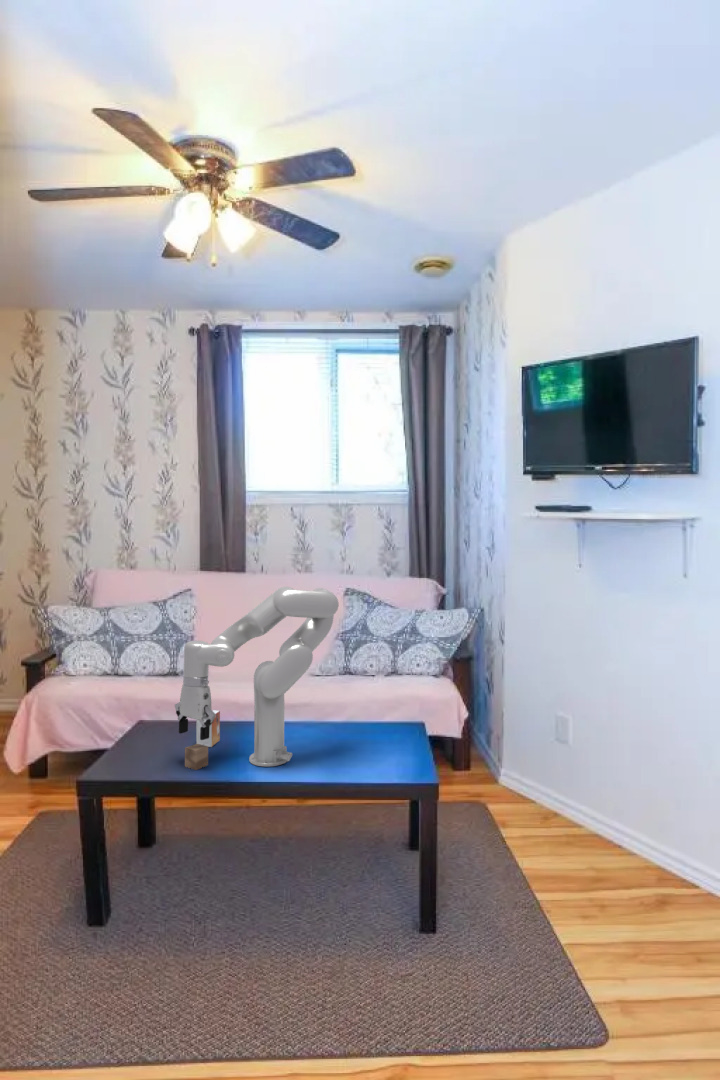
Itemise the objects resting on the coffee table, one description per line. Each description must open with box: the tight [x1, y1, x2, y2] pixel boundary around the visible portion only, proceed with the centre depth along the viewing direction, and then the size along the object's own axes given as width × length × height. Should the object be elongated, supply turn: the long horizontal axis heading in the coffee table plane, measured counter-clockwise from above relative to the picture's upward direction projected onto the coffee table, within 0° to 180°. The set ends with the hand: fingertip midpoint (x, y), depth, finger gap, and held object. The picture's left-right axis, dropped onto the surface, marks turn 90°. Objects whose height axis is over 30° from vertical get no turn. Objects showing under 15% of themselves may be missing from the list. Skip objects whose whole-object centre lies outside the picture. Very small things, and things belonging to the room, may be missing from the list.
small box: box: [195, 709, 221, 748], centre depth 230 cm, size 8×6×10 cm
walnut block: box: [184, 743, 209, 771], centre depth 209 cm, size 5×5×6 cm
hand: (193, 735), depth 209 cm, fingers open, 9 cm apart
